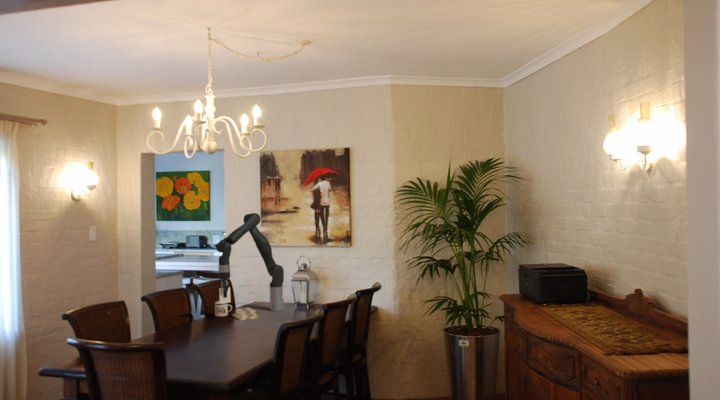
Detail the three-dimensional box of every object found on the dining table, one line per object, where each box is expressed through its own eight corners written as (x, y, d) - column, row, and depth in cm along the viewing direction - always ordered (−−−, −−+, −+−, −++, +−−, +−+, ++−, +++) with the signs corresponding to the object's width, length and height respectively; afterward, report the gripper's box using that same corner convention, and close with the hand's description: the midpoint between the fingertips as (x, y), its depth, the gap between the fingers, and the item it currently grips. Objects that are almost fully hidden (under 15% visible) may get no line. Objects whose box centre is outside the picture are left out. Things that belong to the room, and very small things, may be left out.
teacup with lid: (213, 316, 389) (213, 299, 390) (216, 314, 398) (215, 297, 399) (231, 316, 390) (230, 299, 390) (233, 313, 399) (232, 297, 400)
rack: (252, 314, 396) (252, 307, 396) (259, 318, 381) (259, 310, 381) (232, 316, 390) (232, 309, 390) (239, 320, 375) (238, 312, 375)
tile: (229, 301, 384) (229, 287, 384) (230, 302, 382) (230, 287, 382) (219, 302, 381) (219, 288, 381) (220, 303, 378) (219, 288, 379)
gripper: (232, 271, 377) (232, 297, 377) (227, 270, 389) (227, 295, 389) (221, 272, 374) (221, 298, 373) (216, 270, 386) (217, 296, 386)
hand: (224, 296), depth 381 cm, fingers closed on tile, 2 cm apart
